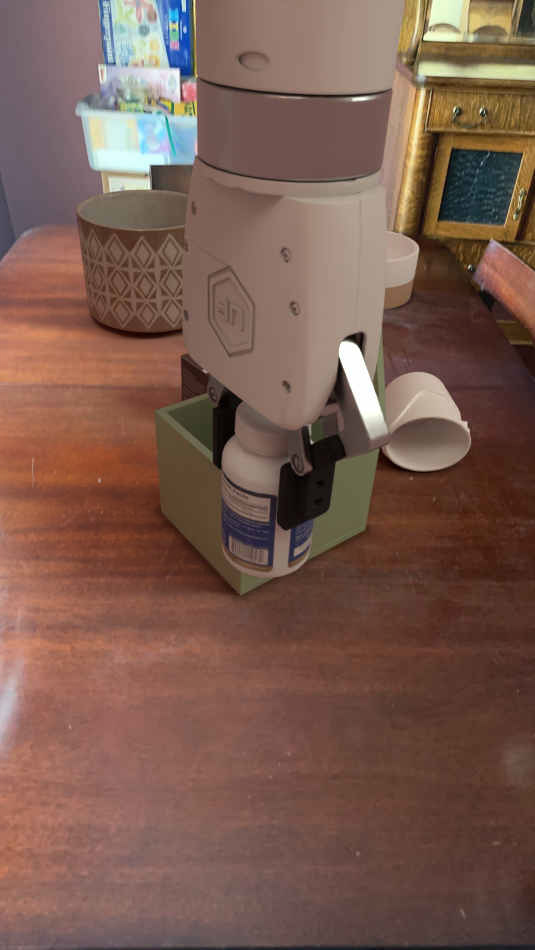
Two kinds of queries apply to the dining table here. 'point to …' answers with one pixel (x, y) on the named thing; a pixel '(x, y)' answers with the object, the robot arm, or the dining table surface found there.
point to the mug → (423, 424)
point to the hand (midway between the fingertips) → (269, 485)
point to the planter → (134, 258)
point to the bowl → (399, 269)
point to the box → (192, 378)
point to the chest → (200, 488)
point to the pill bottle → (258, 500)
